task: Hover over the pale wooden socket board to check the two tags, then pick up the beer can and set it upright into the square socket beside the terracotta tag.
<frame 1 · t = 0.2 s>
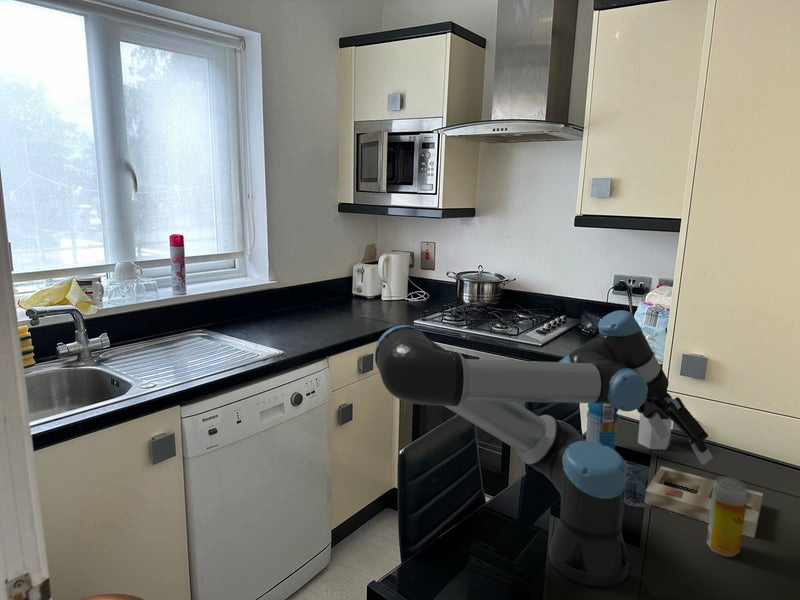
hand: (684, 448, 127), 16 cm above the table, tool tilted 30°, fingers open, 13 cm apart
socket board: (702, 505, 134), on the table
beverage bottle: (599, 451, 163), on the table
jar: (653, 444, 167), on the table
beer can: (722, 550, 118), on the table
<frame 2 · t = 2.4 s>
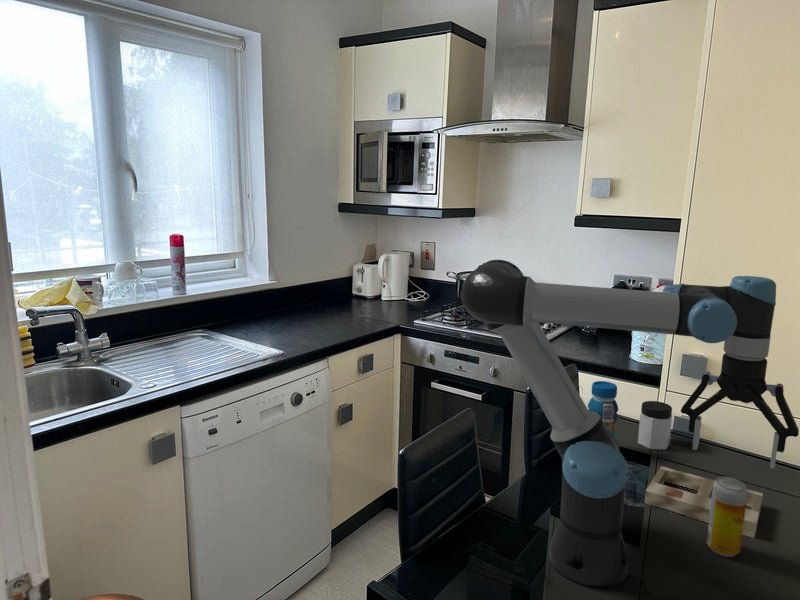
hand: (732, 456, 114), 21 cm above the table, tool pointing down, fingers open, 13 cm apart
nothing on the table moved.
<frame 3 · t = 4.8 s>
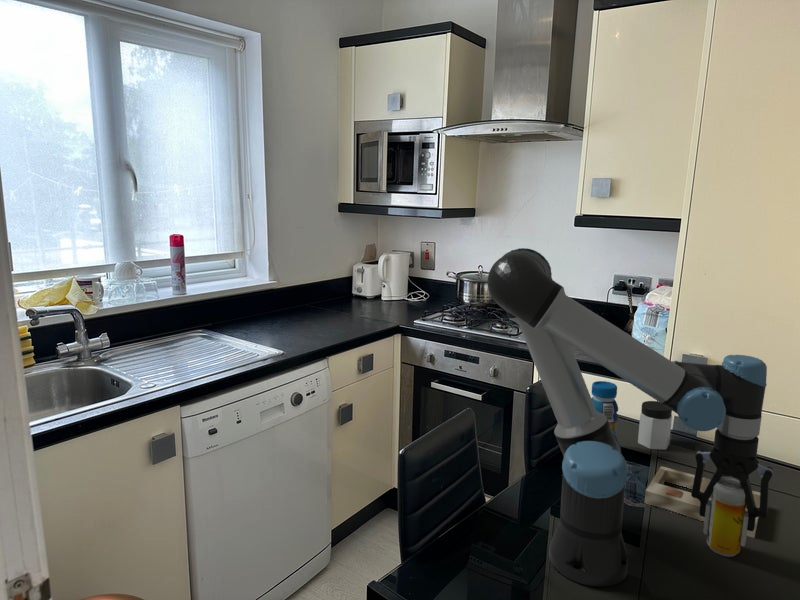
hand: (724, 536, 117), 3 cm above the table, tool pointing down, fingers closed on beer can, 6 cm apart
beer can: (722, 550, 118), on the table, touching gripper
everything else where it was.
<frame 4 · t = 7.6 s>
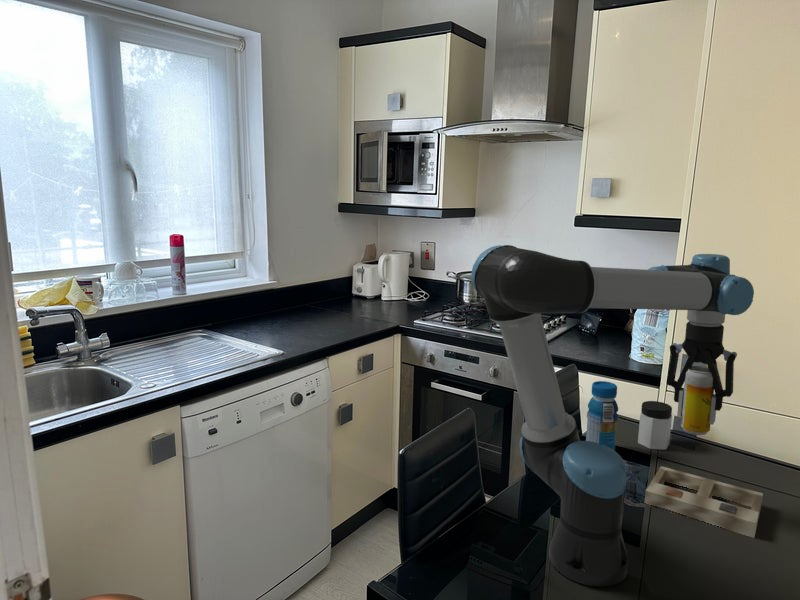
hand: (695, 418, 132), 21 cm above the table, tool pointing down, fingers closed on beer can, 6 cm apart
beer can: (694, 431, 132), point 18 cm above the table, touching gripper
everything else where it was.
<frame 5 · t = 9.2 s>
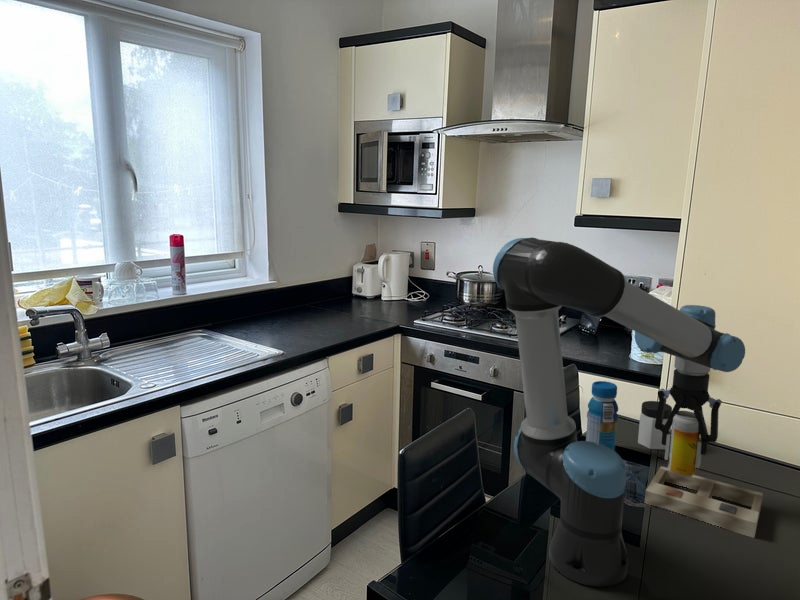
hand: (682, 461, 137), 9 cm above the table, tool pointing down, fingers closed on beer can, 6 cm apart
beer can: (681, 473, 138), point 6 cm above the table, touching gripper
everything else where it was.
when the fingers open (4 cm above the table, at t = 10.4 s): beer can drops 1 cm, resting in socket board.
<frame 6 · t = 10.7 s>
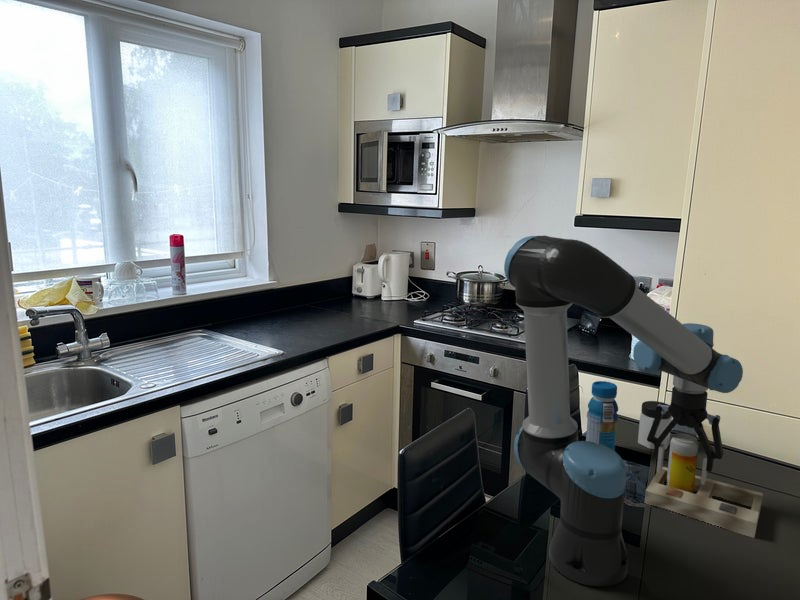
hand: (680, 475, 138), 5 cm above the table, tool pointing down, fingers open, 9 cm apart
beer can: (679, 495, 139), resting in socket board
everything else where it was.
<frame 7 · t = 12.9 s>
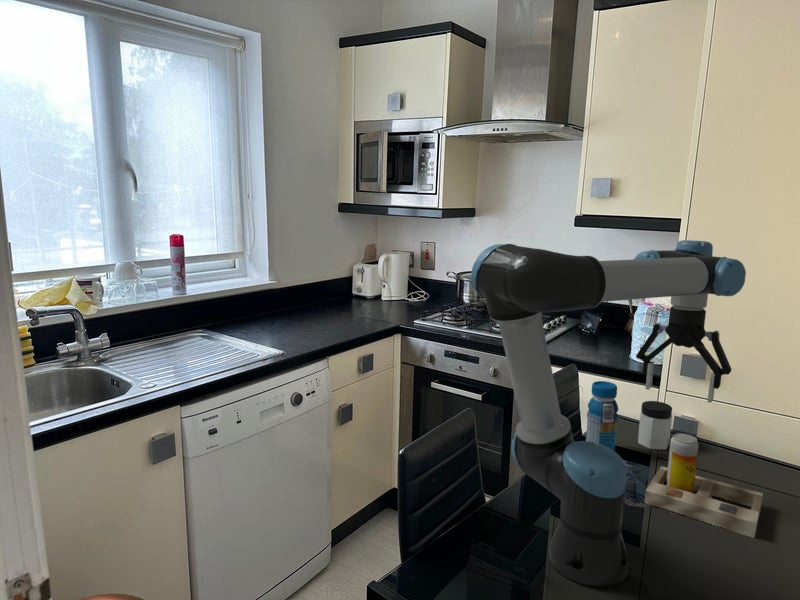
hand: (678, 394, 135), 26 cm above the table, tool pointing down, fingers open, 13 cm apart
nothing on the table moved.
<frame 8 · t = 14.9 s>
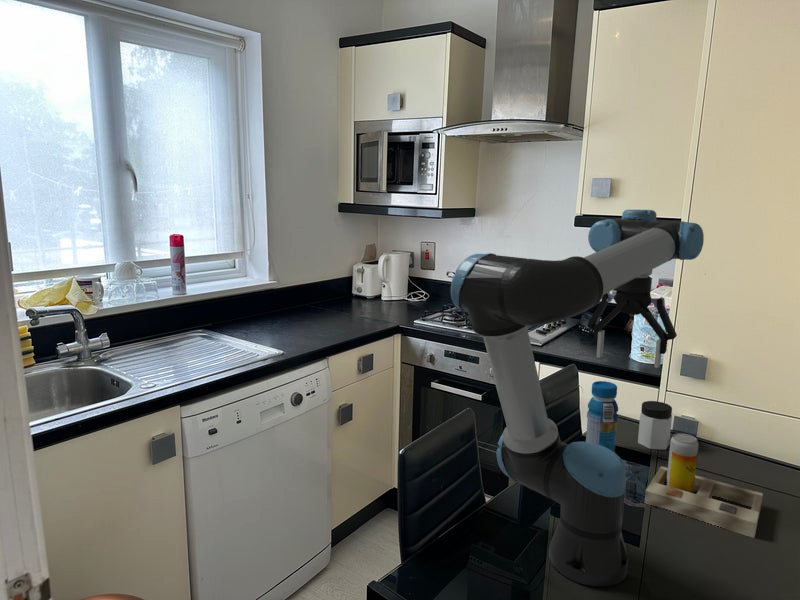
hand: (627, 361, 138), 33 cm above the table, tool pointing down, fingers open, 13 cm apart
nothing on the table moved.
at the end: beer can 0.0 cm from the target spot on the socket board, point 0.0 cm above the socket board's base; beer can tilted 0°; the gripper is holding nothing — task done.
